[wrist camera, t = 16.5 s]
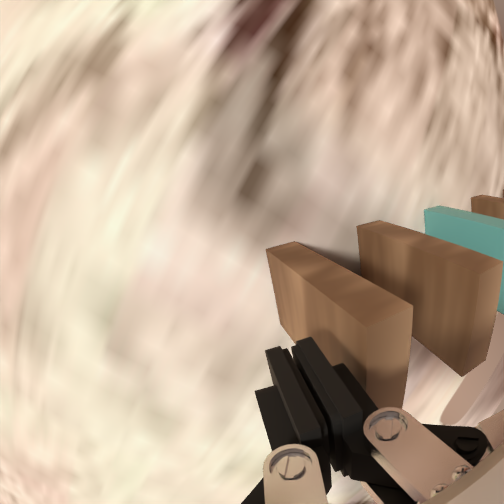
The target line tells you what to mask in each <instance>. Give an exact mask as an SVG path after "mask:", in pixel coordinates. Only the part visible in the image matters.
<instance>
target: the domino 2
mask: <svg viewBox="0 0 504 504" xmlns="http://www.w3.org/2000/svg"><path fill="white" fill-rule="evenodd" d="M424 216H425V234H426V235H430V236H433V237H436V238H439V239H442V240H445V241H448V242H451V243H454V244H457V245H460V246H463V247H465V248H468V249H471V250H474V251H477V252H479V253H482V254H485V255H488V256H490V257H493V258H496V259H498V260H501V261H503V270H502V279H501V287H500V294H499V301H498V306H497V311H498V312H500V313H502V314H504V220H503V219H499V218H495V217H491V216H486V215H482V214H478V213H473V212H468V211H464V210H459V209H454V208H449V207H444V206H437V207H433V208H429V209H425V210H424Z"/></svg>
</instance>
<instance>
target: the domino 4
mask: <svg viewBox="0 0 504 504" xmlns="http://www.w3.org/2000/svg"><path fill="white" fill-rule="evenodd" d="M471 206H472V212H473V213H478V214H482V215H486V216H491V217H495V218H499V219H503V220H504V199H503V198H498V197H492V196H486V195H479V196H475V197H471Z"/></svg>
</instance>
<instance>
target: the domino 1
mask: <svg viewBox="0 0 504 504" xmlns="http://www.w3.org/2000/svg"><path fill="white" fill-rule="evenodd" d="M266 253H267V258H268V263H269V268H270V273H271V278H272V283H273V288H274V293H275V298H276V303H277V308H278V314H279V319H280V324H281V325H282V327H283V328H284V329H285V331H286V332H287V333H288V335H289V336H290V337H291V339H292V340H293V341H294V343H295V344H296V341H298V340H301V339H304V338H307V337H310V336H311V337H312V338H313V340H314V341H315V342H316V344H317V345H318V347H319V348H320V350H321V351H322V352H323V354H324V355H325V357H326V358H327V360H328V361H329V363H330V364H331V365H332V366H334V365H337V364H340V363H344V364H345V365H346V367H347V368H348V369H349V371H350V372H351V373H352V374H353V376H354V377H355V378H356V380H357V381H358V382H359V384H360V385H361V386H362V388H363V389H364V390H365V392H366V393H367V394H368V396H369V397H370V398H371V399H372V401H373V402H374V403H375V405H376V406H377V407H378V409H382V408H387V407H396V408H400V409H402V406H403V400H404V394H405V387H406V381H407V373H408V365H409V357H410V347H411V335H412V321H413V305H411V304H409V303H408V302H406V301H404V300H402V299H400V298H399V297H397V296H395V295H393V294H392V293H390V292H388V291H386V290H384V289H383V288H381V287H379V286H377V285H375V284H373V283H372V282H370V281H368V280H366V279H364V278H363V277H361V276H359V275H357V274H355V273H353V272H351V271H350V270H348V269H346V268H344V267H342V266H340V265H338V264H337V263H335V262H333V261H331V260H329V259H327V258H325V257H323V256H322V255H320V254H318V253H316V252H314V251H312V250H310V249H308V248H306V247H304V246H303V245H301V244H299V243H297V242H295V241H294V242H291V243H287V244H283V245H279V246H276V247H272V248H268V249H266Z"/></svg>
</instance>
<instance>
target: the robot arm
mask: <svg viewBox="0 0 504 504" xmlns="http://www.w3.org/2000/svg"><path fill="white" fill-rule="evenodd" d="M291 349H292V354H293V358H292V356H291V354H290V352H289V350H288V349H287V348H286V349H282V348H281V347H280V346H278V347H275V348H272V349H268V350H265V353H266V357H267V361H268V365H269V369H270V373H271V377H272V381H273V384H274V386H271V387H267V388H264V389H260V390H257V391H255V394H256V398H257V401H258V405H259V408H260V412H261V415H262V419H263V422H264V425H265V429H266V432H267V435H268V439H269V442H270V445H271V449H272V452H271V453H270V454H269V455H268V456H267V457H266V459H265V461H264V465H263V478H262V480H261V481H260V482H259V483H258V484H257V486H256V487H255V488H254V489H253V490H252V492H251V493H250V494H249V495H248V496H247V497H246V498H245V500H244V501H243V502H242V503H241V504H328V502H327V497H326V495H327V494H328V492H329V490H330V489H331V487H332V483H331V466H330V463H331V465H332V467H333V469H334V471H335V472H337V471H339V470H341V472H342V474H343V476H344V477H345V476H347V475H349V476H350V478H351V479H353V480H357V481H360V483H361V485H362V486H363V487H364V489H365V490H366V491H367V492H368V493H369V495H370V496H371V497H372V498H373V499H374V501H375V502H376V503H377V504H504V410H502V411H500V412H498V413H497V414H495V415H493V416H491V417H489V418H487V419H485V420H483V421H481V422H479V423H478V425H477V426H476V427H463V426H443V425H430V424H421V423H420V422H418V421H417V420H416V419H415V418H414V417H412V416H411V415H410V414H409V413H408V412H406V411H404V410H403V409H400V408H396V407H387V408H382V409H378V407H377V406H376V405H375V403H374V402H373V401H372V399H371V398H370V397H369V396H368V394H367V393H366V392H365V390H364V389H363V388H362V386H361V385H360V384H359V382H358V381H357V380H356V378H355V377H354V376H353V374H352V373H351V372H350V371H349V369H348V368H347V367H346V365H345V364H344V363H340V364H337V365H334V366H332V365H331V364H330V363H329V361H328V360H327V358H326V357H325V355H324V354H323V352H322V351H321V350H320V348H319V347H318V345H317V344H316V342H315V341H314V340H313V338H312V337H311V336H310V337H307V338H304V339H301V340H298V341H296V345H295V346H292V347H291Z"/></svg>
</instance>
